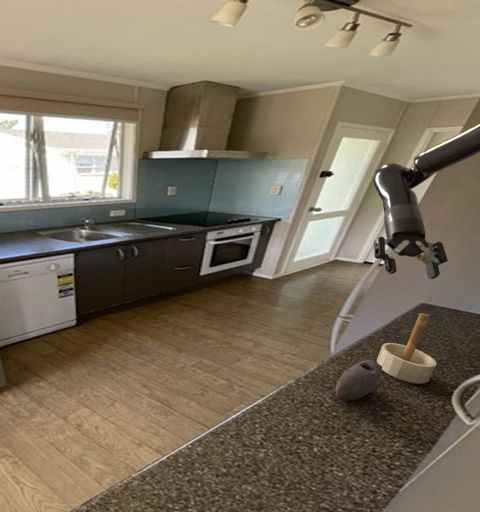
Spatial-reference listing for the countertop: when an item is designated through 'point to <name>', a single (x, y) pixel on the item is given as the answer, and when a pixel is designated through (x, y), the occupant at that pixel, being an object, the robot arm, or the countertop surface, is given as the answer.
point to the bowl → (406, 364)
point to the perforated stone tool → (359, 380)
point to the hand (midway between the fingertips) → (412, 275)
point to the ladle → (415, 336)
